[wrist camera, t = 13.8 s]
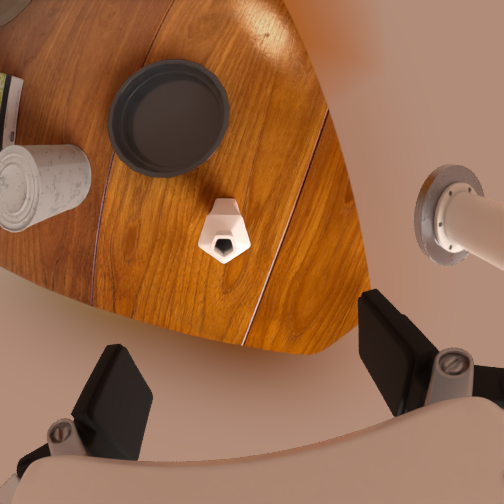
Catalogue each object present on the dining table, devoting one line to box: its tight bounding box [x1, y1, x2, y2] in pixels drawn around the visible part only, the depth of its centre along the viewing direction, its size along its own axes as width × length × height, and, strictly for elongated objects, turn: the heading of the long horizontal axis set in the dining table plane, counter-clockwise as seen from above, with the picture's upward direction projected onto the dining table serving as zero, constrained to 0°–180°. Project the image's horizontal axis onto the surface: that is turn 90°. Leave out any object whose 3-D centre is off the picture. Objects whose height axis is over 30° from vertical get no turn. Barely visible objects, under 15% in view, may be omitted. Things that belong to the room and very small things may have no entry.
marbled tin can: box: [0, 144, 92, 232], centre depth 26 cm, size 10×10×12 cm
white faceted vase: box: [198, 198, 250, 263], centre depth 29 cm, size 5×4×15 cm
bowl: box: [108, 59, 230, 178], centre depth 29 cm, size 14×14×4 cm
